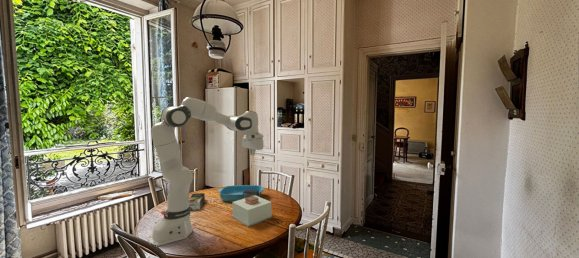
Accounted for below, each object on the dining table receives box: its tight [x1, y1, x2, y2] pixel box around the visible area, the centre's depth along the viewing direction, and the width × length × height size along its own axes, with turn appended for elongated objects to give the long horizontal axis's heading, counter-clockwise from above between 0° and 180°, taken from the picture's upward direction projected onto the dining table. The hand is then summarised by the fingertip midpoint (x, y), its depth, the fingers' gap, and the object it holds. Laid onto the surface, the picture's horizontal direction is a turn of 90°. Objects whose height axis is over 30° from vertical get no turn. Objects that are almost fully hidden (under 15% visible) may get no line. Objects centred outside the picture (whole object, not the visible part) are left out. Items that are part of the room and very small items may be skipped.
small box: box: [243, 190, 259, 199], centre depth 173 cm, size 11×6×10 cm, turn 84°
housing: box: [231, 195, 273, 227], centre depth 152 cm, size 19×19×10 cm
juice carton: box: [189, 192, 206, 211], centre depth 173 cm, size 20×10×6 cm, turn 10°
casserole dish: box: [217, 184, 265, 202], centre depth 188 cm, size 37×22×7 cm, turn 90°
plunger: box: [245, 196, 259, 205], centre depth 152 cm, size 6×6×12 cm
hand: (252, 155), depth 159 cm, fingers closed
